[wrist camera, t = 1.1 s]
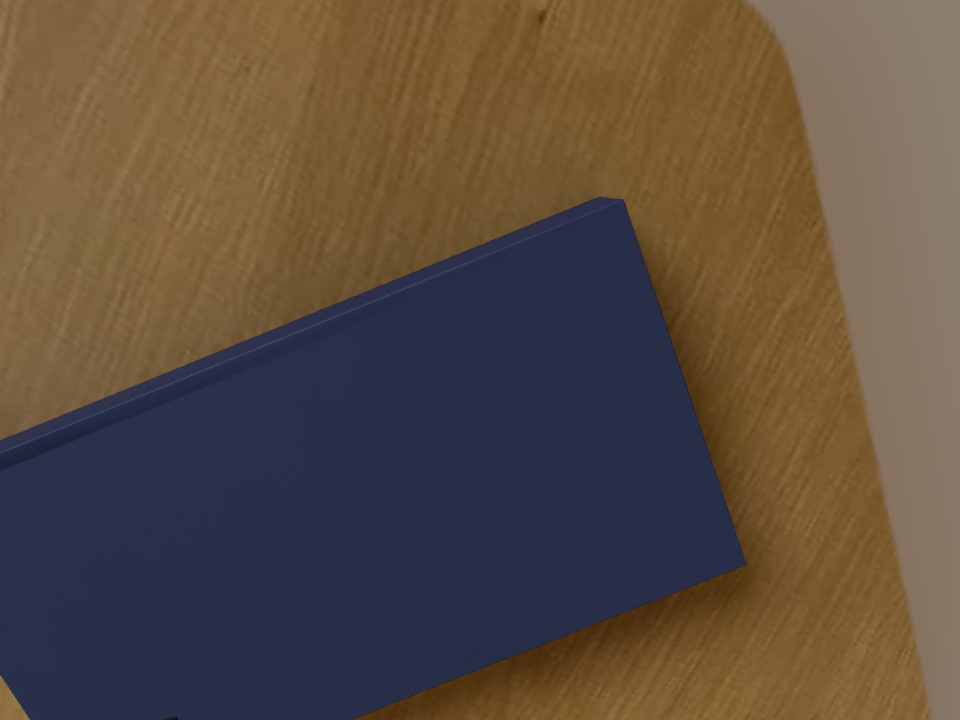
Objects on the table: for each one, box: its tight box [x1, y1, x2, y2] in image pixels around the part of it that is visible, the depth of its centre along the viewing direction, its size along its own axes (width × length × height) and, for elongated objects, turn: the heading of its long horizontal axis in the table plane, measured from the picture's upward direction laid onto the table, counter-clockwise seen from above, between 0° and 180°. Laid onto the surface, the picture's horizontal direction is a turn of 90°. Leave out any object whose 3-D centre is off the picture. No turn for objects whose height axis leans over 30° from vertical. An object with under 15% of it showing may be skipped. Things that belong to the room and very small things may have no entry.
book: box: [0, 197, 746, 720], centre depth 25 cm, size 24×13×3 cm, turn 112°
